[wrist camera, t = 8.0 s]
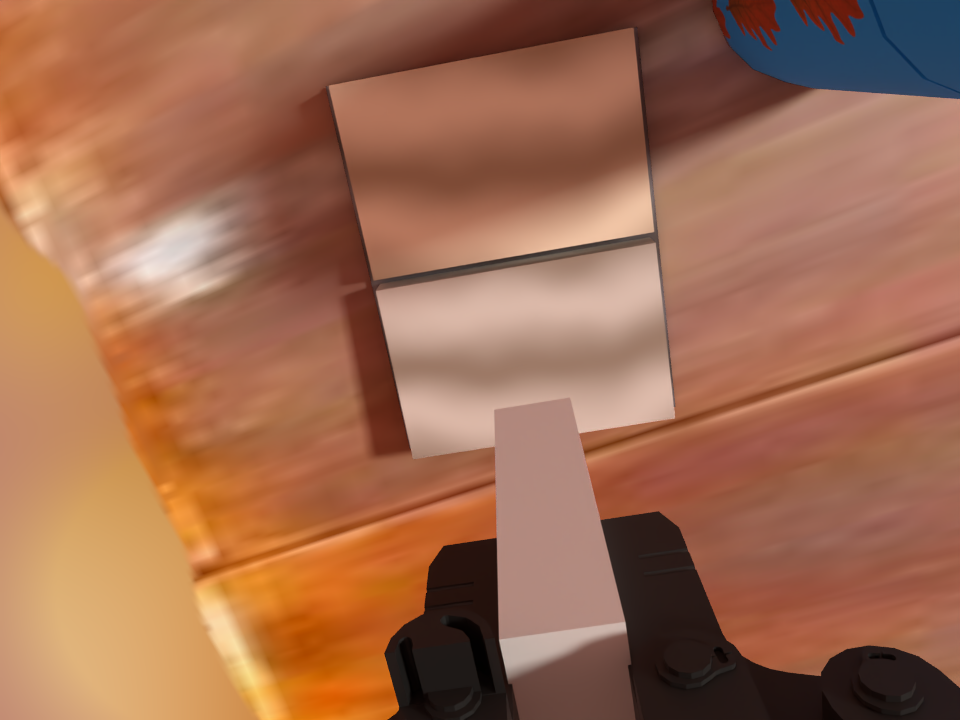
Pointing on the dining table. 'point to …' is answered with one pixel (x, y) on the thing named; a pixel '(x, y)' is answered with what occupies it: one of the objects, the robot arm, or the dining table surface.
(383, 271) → the floor board
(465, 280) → the plank
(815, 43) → the thermos
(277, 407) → the dining table surface
